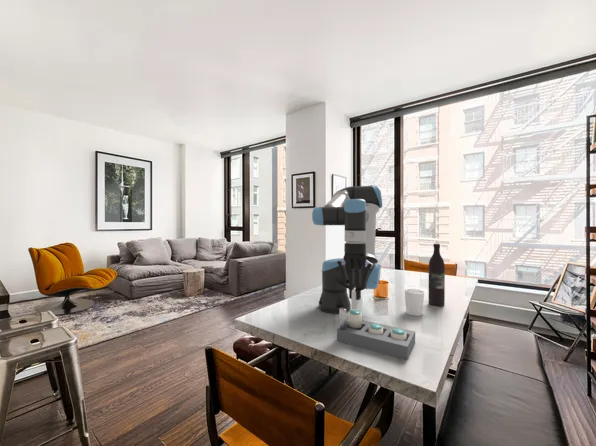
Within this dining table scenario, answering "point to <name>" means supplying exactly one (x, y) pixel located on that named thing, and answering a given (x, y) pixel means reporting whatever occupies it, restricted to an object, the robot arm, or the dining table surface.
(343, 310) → the grey metal rod
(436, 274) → the wine bottle
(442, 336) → the dining table surface
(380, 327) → the knob middle
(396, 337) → the knob
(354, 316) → the knob
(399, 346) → the plate
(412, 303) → the white cup
